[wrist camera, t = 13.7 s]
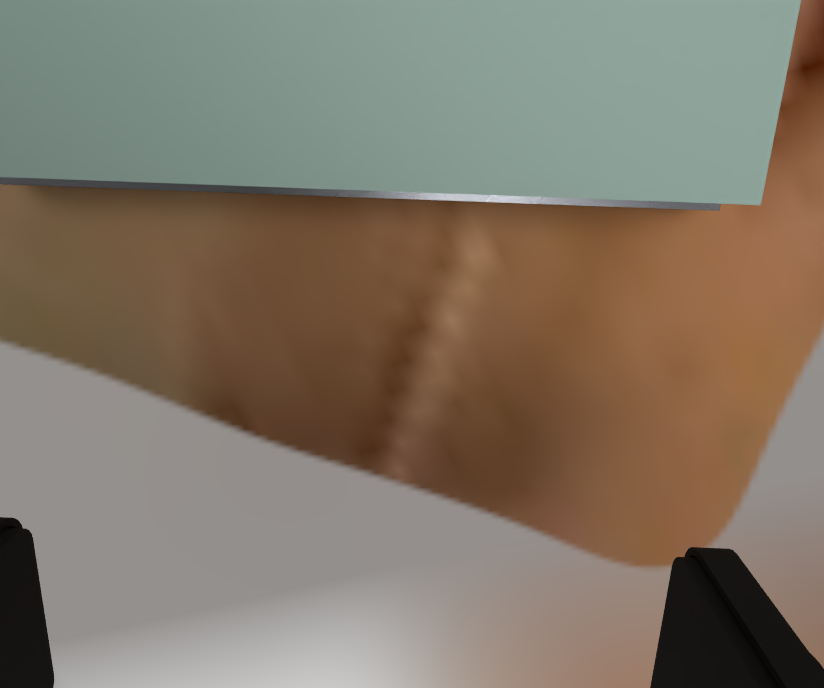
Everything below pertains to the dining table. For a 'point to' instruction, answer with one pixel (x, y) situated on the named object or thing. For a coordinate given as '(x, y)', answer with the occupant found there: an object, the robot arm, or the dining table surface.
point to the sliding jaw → (400, 94)
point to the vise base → (359, 193)
